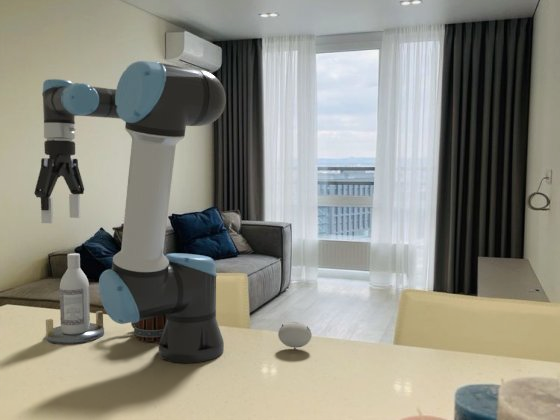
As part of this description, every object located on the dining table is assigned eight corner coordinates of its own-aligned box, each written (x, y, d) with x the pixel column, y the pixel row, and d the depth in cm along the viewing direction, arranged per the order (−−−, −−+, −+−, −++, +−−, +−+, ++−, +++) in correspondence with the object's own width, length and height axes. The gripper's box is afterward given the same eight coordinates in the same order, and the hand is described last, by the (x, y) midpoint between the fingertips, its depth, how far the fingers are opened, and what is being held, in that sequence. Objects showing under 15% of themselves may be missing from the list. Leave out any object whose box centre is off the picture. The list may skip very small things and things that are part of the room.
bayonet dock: (113, 328, 142) (113, 309, 141) (87, 346, 128) (87, 325, 128) (64, 326, 144) (64, 307, 143) (34, 343, 130) (33, 322, 129)
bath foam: (73, 325, 140) (71, 251, 138) (95, 328, 138) (93, 252, 136) (54, 333, 133) (52, 255, 132) (77, 336, 131) (75, 257, 130)
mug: (184, 334, 138) (184, 277, 136) (154, 345, 129) (154, 285, 127) (142, 324, 146) (141, 270, 145) (111, 334, 137) (110, 277, 136)
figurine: (312, 346, 129) (312, 319, 128) (310, 355, 123) (310, 327, 122) (280, 344, 130) (280, 317, 129) (276, 353, 124) (276, 325, 123)
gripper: (46, 138, 126) (48, 226, 128) (95, 142, 151) (97, 215, 153) (17, 137, 127) (19, 225, 129) (71, 141, 152) (72, 215, 154)
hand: (61, 220), depth 141 cm, fingers open, 13 cm apart
